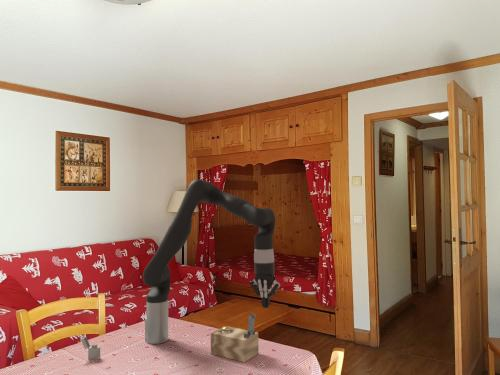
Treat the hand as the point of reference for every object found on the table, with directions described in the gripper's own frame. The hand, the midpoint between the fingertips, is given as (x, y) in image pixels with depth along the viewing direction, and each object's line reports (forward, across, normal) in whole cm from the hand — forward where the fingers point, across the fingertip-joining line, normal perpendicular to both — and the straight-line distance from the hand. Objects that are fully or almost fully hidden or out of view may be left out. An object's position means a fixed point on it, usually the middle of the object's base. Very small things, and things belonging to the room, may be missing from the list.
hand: (265, 307), depth 142 cm
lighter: (+19, +61, +32) cm, 71 cm away
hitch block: (+20, +15, 0) cm, 25 cm away
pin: (+20, +19, 0) cm, 28 cm away
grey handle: (+8, +8, 0) cm, 11 cm away
